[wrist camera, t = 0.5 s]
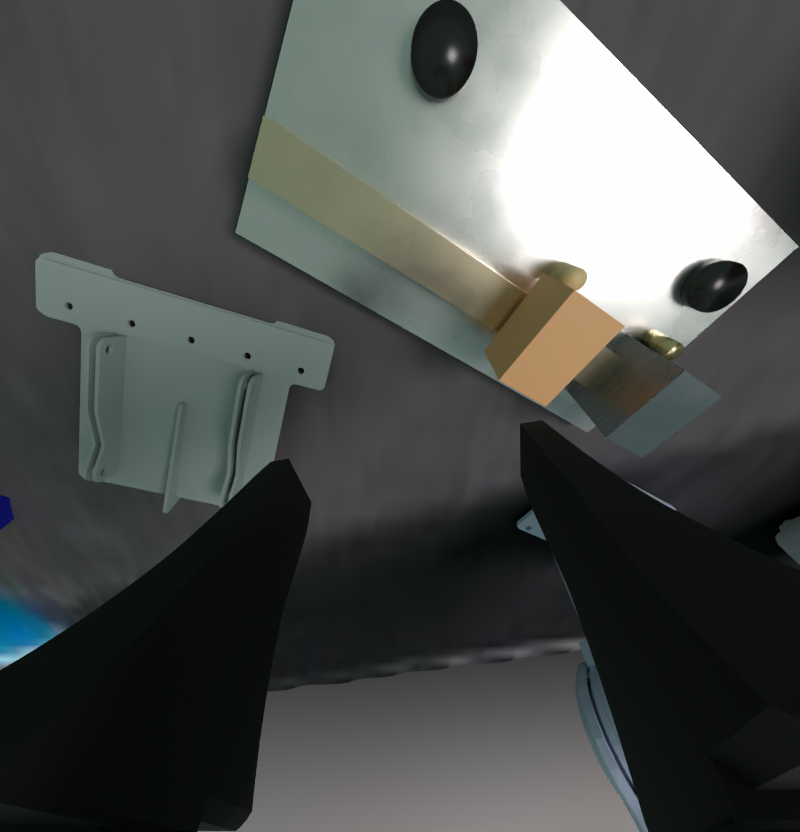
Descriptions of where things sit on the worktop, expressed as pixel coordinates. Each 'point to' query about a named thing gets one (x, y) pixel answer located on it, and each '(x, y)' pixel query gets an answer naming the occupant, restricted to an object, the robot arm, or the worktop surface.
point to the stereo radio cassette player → (790, 538)
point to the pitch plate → (502, 192)
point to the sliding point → (550, 336)
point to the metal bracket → (175, 383)
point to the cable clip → (5, 511)
